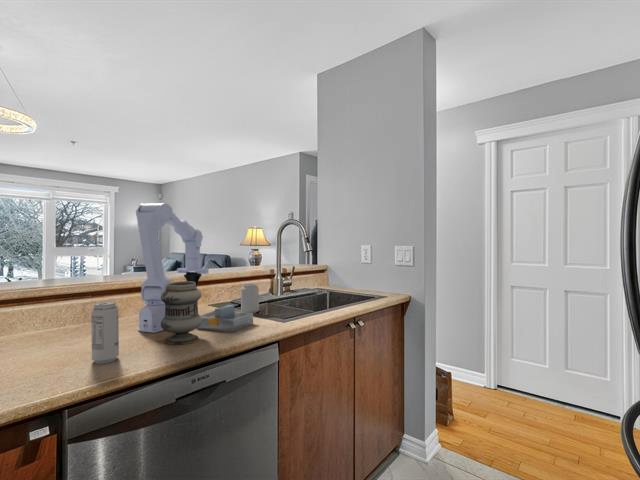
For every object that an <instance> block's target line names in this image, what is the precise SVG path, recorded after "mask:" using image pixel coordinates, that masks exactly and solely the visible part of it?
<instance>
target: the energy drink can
mask: <svg viewBox="0 0 640 480" xmlns="http://www.w3.org/2000/svg"><path fill="white" fill-rule="evenodd" d="M90 313H91V316H90V317H91V322H90V323H91V360H92V361H93V362H94V363H95V364H98V365H102V364H108V363H112V362H114V361H116V360H117V357H118V356H119V355H120V351H119V350H120V348H119V347H120V346H119V344H120V341H119V337H120V336H119V333H120V332H119V331H120V330H119V307H118V305H117V303H116V302H115V301H102V302H96V303H94V304H93V308H92V309H91V312H90Z"/></svg>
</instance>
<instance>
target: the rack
mask: <svg viewBox="0 0 640 480" xmlns="http://www.w3.org/2000/svg"><path fill="white" fill-rule="evenodd" d="M199 315H200V316H201V317H202V324H201V325H200V326H199V327H198V328H197V329H199V330H207V331H208V330H209V331H216V332H217V331H218V332H223V333H224V332H226V333H235V332H237V331H240V330H243V329H244V328H247V327H249V326H251V325H253V324H254V313H248V312H242V311H236V310H235V313H234V314H231V315H228V316H225V317H223V318H219V317H215V310H213V311H209V312H207V313H203V314H199Z"/></svg>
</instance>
